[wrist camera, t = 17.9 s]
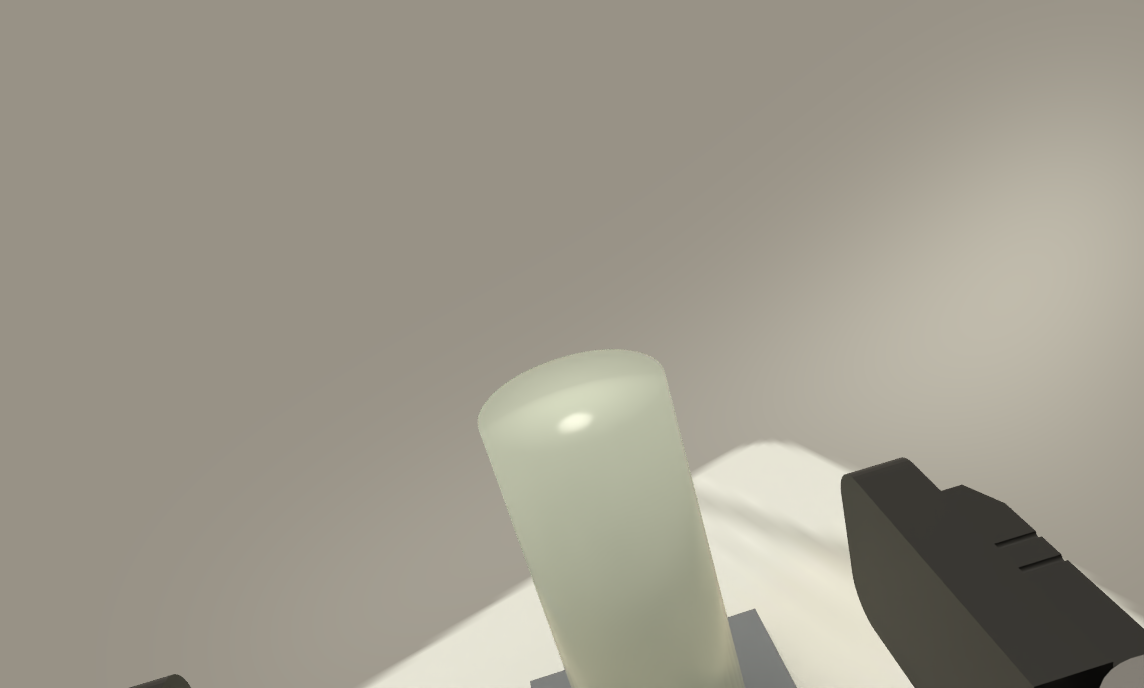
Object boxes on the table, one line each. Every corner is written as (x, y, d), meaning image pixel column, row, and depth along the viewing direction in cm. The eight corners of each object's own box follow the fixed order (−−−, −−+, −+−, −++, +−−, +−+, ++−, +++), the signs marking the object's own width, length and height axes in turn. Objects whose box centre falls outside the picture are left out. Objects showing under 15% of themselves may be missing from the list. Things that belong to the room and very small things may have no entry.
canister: (624, 866, 27) (481, 473, 21) (598, 735, 31) (474, 383, 26) (787, 814, 27) (686, 409, 21) (737, 691, 32) (643, 332, 26)
